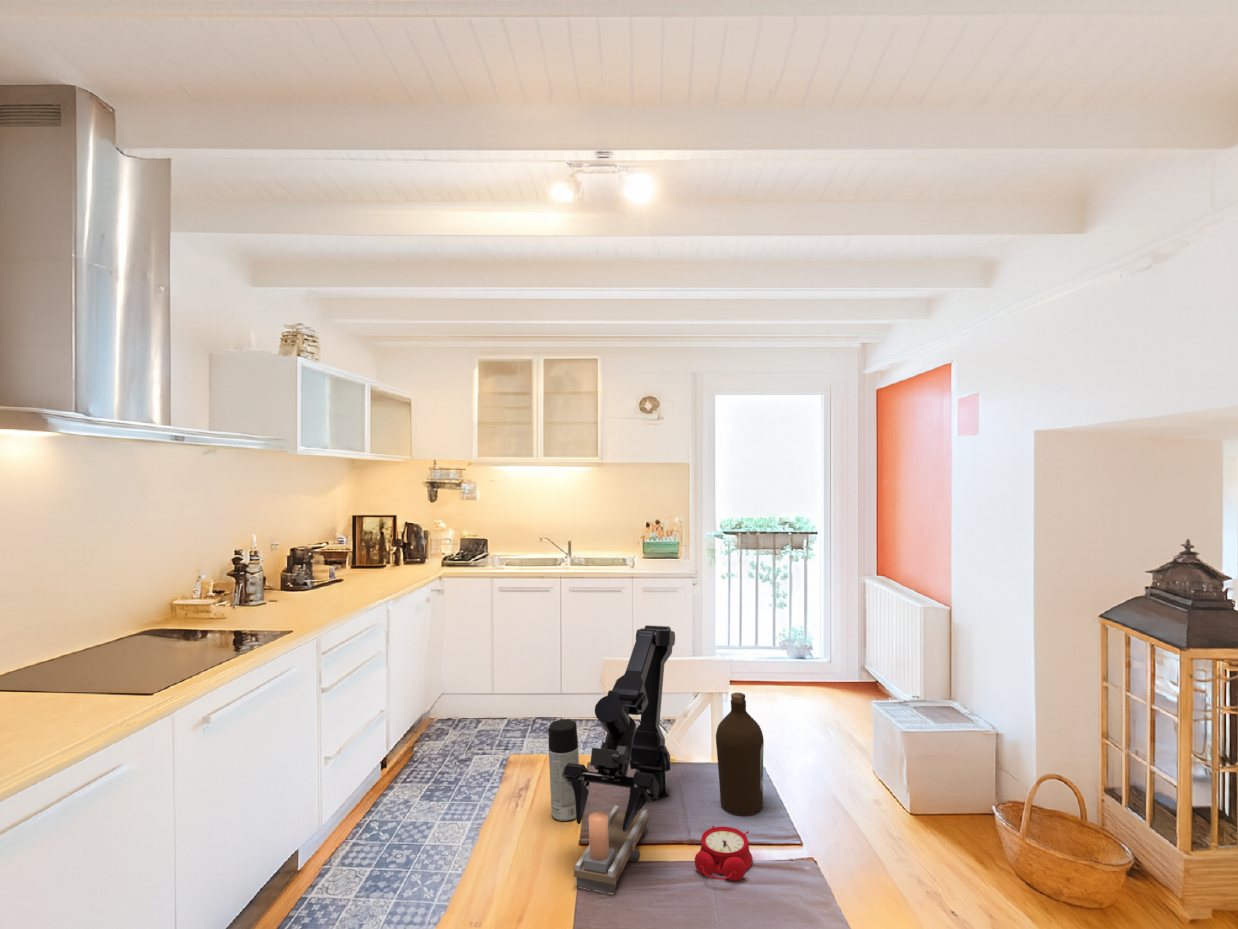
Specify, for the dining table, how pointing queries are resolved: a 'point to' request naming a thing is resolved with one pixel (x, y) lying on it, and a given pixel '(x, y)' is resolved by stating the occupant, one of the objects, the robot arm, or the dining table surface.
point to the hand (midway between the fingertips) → (600, 827)
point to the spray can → (562, 767)
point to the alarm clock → (724, 853)
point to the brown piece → (623, 851)
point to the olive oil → (740, 760)
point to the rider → (599, 844)
